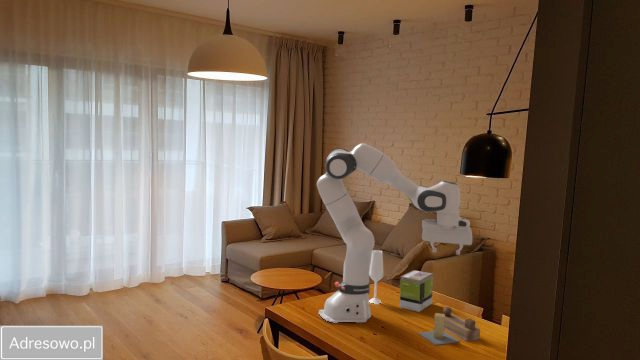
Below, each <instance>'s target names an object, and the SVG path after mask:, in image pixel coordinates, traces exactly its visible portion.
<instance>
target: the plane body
mask: <svg viewBox="0 0 640 360" xmlns="http://www.w3.org/2000/svg"><path fill="white" fill-rule="evenodd" d="M442 314H445V324H444V330H447V331H448V332H450V333H451V334H453V335H455V336H457V337H459V338H460V339H462V340H464V341H465V342H469V341H476V340H477V341H478V340H480V339H481V328H479V327H478V326H476V320H475V319H472V318H465V319H462V318H461V317H459V316H457V315H455V314H453V312H452V307H449V306H444V307H443V312H442Z"/></svg>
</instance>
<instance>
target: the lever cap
mask: <svg viewBox="0 0 640 360" xmlns="http://www.w3.org/2000/svg"><path fill="white" fill-rule="evenodd" d="M433 319H434V321H433V322H434V325H433V331H434V338H438V339H443V338H444V331H445V328H444V324H445V314H443V313H439V312H435V313H434V318H433Z"/></svg>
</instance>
